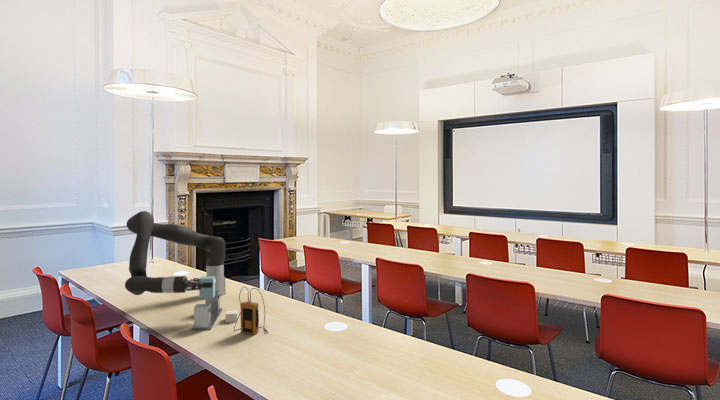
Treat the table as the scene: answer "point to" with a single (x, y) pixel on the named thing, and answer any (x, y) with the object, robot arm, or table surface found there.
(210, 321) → the grey u-shaped metal stand
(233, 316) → the block
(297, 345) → the table surface
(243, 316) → the multimeter
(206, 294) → the block
